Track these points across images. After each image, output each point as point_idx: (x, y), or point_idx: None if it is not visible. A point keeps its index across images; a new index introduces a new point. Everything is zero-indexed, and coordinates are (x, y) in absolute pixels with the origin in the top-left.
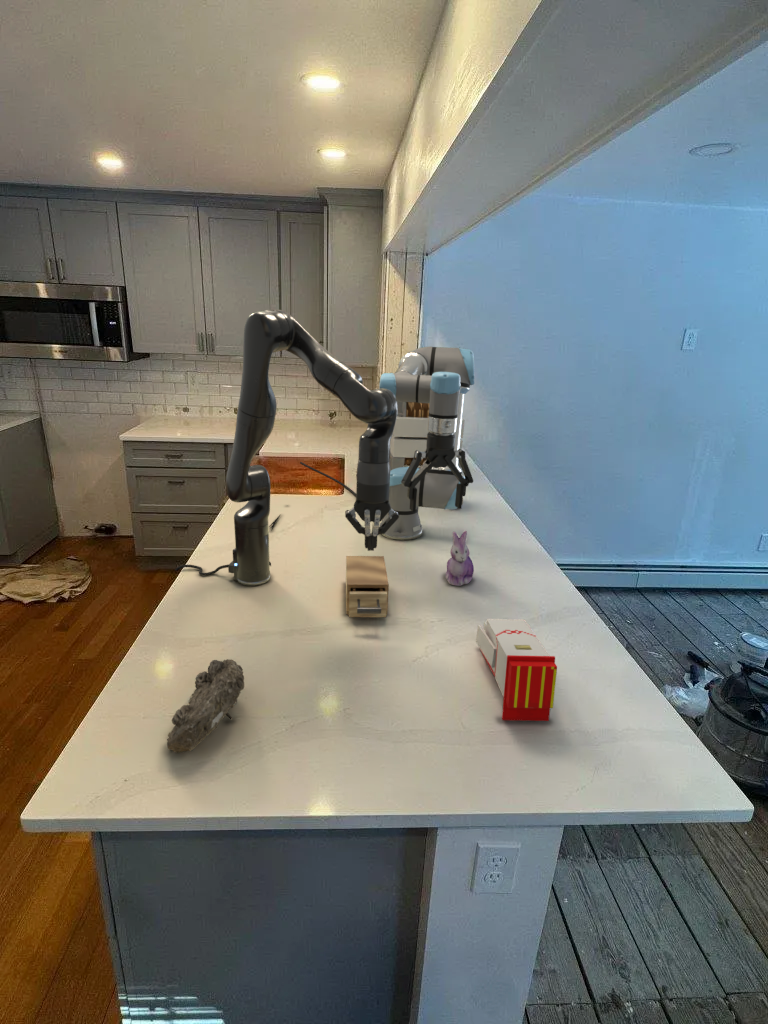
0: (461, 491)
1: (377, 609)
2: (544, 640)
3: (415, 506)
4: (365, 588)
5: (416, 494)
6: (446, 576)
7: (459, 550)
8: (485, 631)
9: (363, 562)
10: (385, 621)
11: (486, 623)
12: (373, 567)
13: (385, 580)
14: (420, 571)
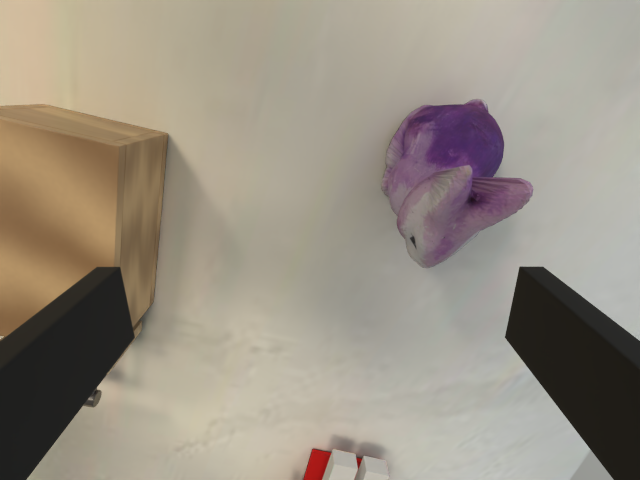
0: (621, 470)
1: (84, 405)
2: (454, 448)
3: (108, 366)
4: None
5: (33, 466)
6: (389, 152)
7: (424, 255)
8: (327, 469)
9: (29, 188)
10: (144, 327)
11: (333, 474)
12: (68, 237)
13: None
14: (325, 66)
